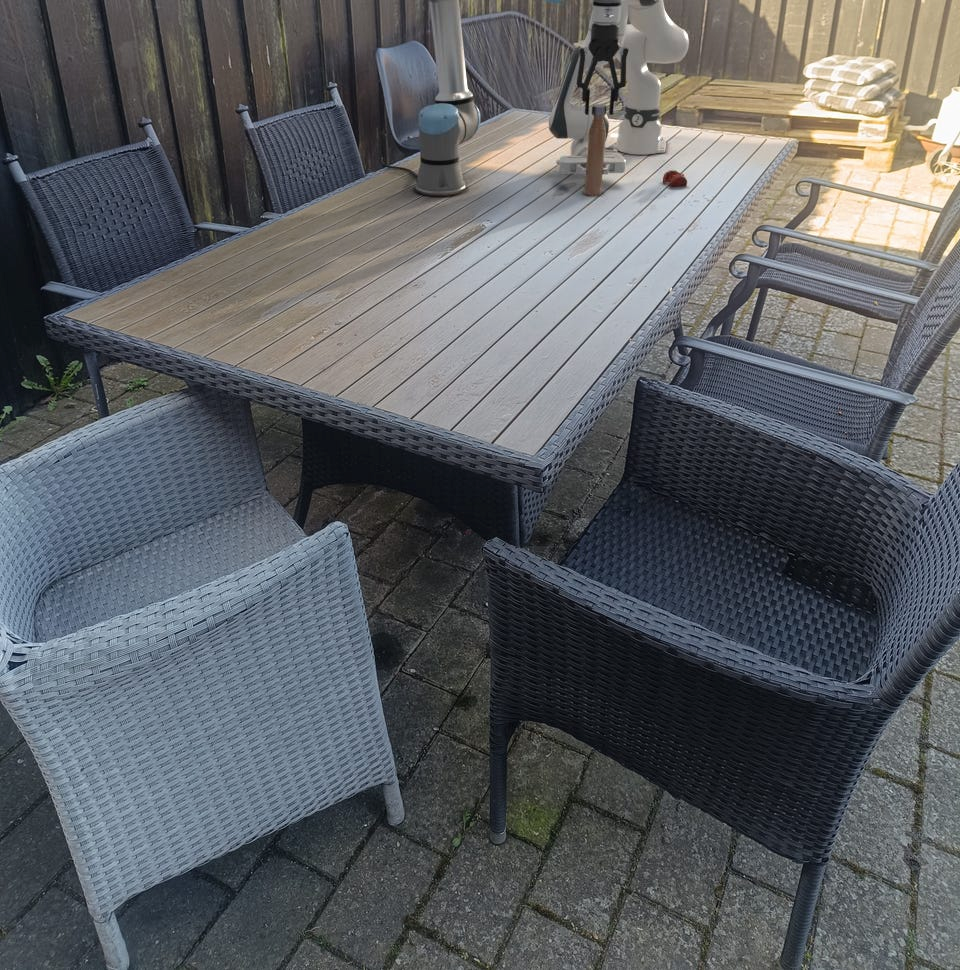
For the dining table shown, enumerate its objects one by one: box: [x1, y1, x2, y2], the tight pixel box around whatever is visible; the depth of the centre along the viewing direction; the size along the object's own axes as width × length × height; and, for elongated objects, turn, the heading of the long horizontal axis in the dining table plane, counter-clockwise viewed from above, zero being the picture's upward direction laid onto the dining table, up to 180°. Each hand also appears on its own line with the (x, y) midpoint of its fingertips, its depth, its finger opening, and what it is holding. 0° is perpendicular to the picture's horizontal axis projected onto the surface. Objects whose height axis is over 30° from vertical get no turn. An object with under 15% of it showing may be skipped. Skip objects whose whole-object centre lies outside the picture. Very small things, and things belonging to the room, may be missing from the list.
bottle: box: [583, 116, 607, 197], centre depth 249 cm, size 5×5×24 cm
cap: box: [591, 103, 607, 116], centre depth 242 cm, size 4×4×2 cm
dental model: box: [662, 169, 688, 188], centre depth 261 cm, size 6×4×8 cm
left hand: (598, 113), depth 242 cm, fingers open, 6 cm apart
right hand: (594, 171), depth 251 cm, fingers closed on bottle, 5 cm apart
